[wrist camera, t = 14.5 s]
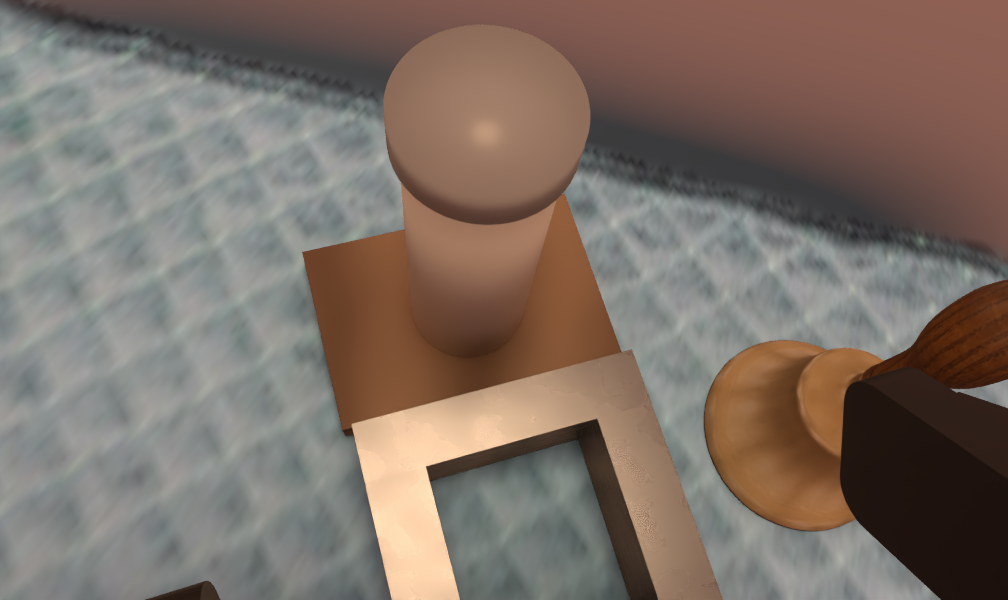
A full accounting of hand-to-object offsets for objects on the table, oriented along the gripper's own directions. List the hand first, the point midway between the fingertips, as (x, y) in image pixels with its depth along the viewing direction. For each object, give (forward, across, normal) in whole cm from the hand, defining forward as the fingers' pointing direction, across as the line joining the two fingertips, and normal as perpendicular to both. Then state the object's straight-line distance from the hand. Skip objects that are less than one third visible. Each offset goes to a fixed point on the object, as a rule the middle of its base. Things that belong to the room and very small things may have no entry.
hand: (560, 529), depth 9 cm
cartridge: (+22, -3, +8) cm, 24 cm away
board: (+23, -3, +8) cm, 25 cm away
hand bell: (+17, -15, +15) cm, 28 cm away
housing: (+16, -3, +16) cm, 23 cm away
